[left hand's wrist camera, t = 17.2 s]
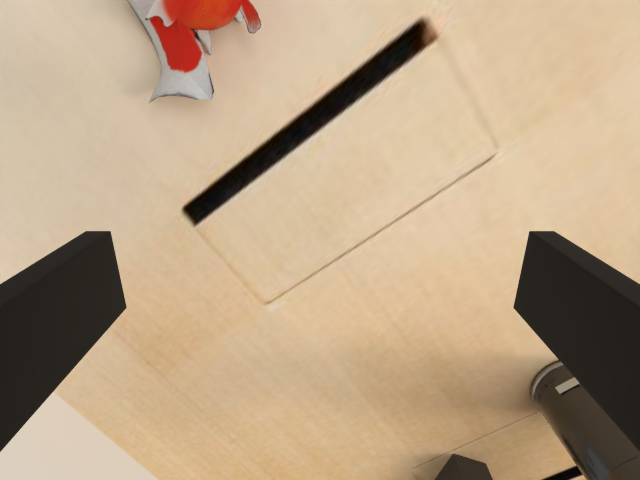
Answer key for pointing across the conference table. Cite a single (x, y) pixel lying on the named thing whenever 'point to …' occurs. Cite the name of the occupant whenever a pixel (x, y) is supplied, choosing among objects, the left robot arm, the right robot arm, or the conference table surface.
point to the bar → (464, 470)
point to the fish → (188, 39)
